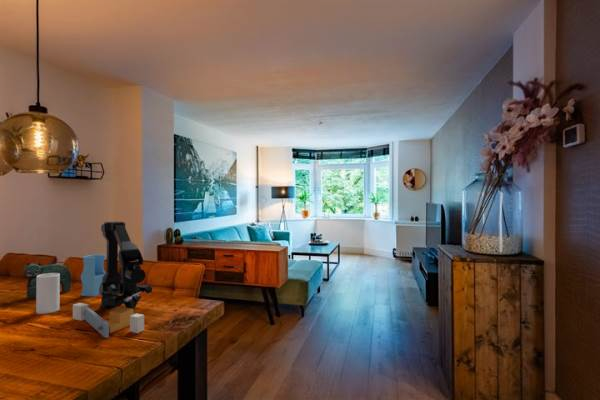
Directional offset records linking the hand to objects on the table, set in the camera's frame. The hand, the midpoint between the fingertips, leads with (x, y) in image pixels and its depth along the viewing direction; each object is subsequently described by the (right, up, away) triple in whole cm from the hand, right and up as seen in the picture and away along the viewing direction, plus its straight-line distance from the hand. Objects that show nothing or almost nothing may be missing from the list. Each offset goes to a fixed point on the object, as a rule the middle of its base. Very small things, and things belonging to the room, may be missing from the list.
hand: (130, 314), depth 135 cm
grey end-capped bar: (-10, -2, -9) cm, 13 cm away
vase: (-38, -2, +35) cm, 52 cm away
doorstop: (-2, -2, -7) cm, 8 cm away
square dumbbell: (-7, -2, -5) cm, 9 cm away
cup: (-42, -2, +10) cm, 43 cm away
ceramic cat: (-60, -1, +33) cm, 69 cm away
